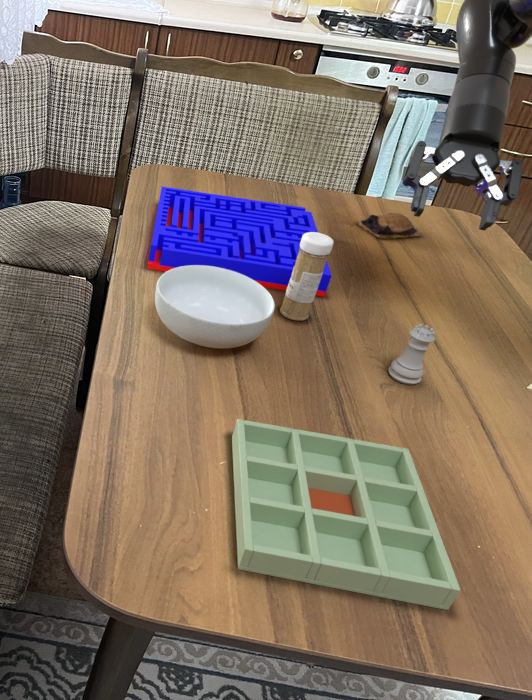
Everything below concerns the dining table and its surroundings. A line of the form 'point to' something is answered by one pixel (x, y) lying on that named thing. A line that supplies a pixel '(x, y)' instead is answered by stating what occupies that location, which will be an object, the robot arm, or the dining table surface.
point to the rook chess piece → (412, 356)
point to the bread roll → (389, 226)
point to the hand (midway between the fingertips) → (451, 221)
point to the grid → (337, 515)
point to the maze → (231, 236)
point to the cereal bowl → (213, 306)
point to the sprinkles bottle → (306, 275)
